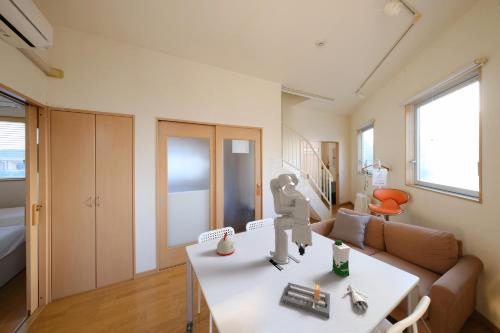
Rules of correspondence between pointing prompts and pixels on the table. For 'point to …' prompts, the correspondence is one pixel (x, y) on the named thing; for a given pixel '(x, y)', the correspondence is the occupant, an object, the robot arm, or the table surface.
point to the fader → (317, 292)
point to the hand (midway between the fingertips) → (301, 254)
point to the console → (306, 299)
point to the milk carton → (340, 258)
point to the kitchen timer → (225, 246)
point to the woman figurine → (357, 298)
